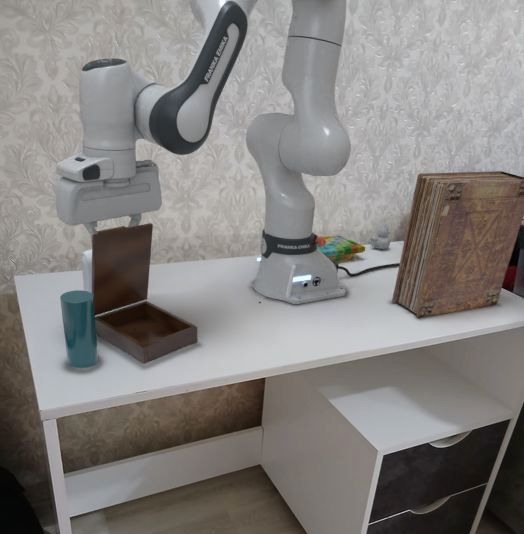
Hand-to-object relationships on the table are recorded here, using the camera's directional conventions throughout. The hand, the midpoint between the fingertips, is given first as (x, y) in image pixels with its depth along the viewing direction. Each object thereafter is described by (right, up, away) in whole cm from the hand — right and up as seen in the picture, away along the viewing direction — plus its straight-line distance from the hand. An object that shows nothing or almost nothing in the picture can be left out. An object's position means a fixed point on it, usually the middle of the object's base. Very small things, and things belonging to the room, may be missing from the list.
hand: (114, 240), depth 103 cm
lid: (+1, -5, +1) cm, 6 cm away
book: (+72, -9, +31) cm, 79 cm away
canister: (-4, -23, -5) cm, 24 cm away
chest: (+5, -19, +4) cm, 20 cm away
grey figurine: (+63, +10, +65) cm, 91 cm away
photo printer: (-6, -10, +19) cm, 22 cm away
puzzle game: (+45, +6, +54) cm, 71 cm away
